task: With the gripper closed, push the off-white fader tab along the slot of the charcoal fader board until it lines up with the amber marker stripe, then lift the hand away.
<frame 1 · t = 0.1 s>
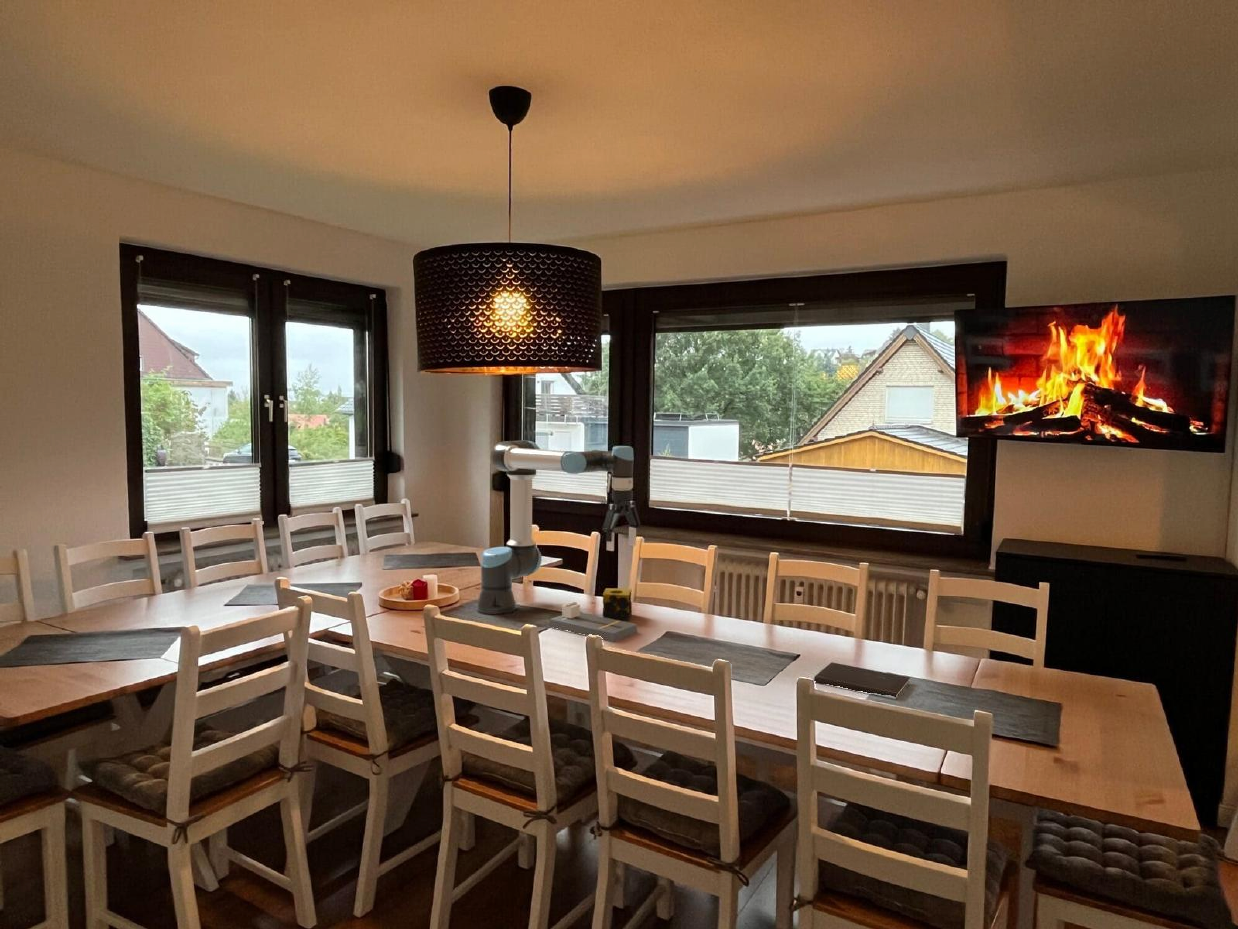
hand: (621, 547, 278), 28 cm above the table, tool pointing down, fingers open, 13 cm apart
candle: (617, 618, 289), on the table
fader tab: (571, 609, 277), point 6 cm above the table, slide at 0.0 cm
hardcover book: (861, 685, 223), on the table
fader board: (593, 630, 271), on the table
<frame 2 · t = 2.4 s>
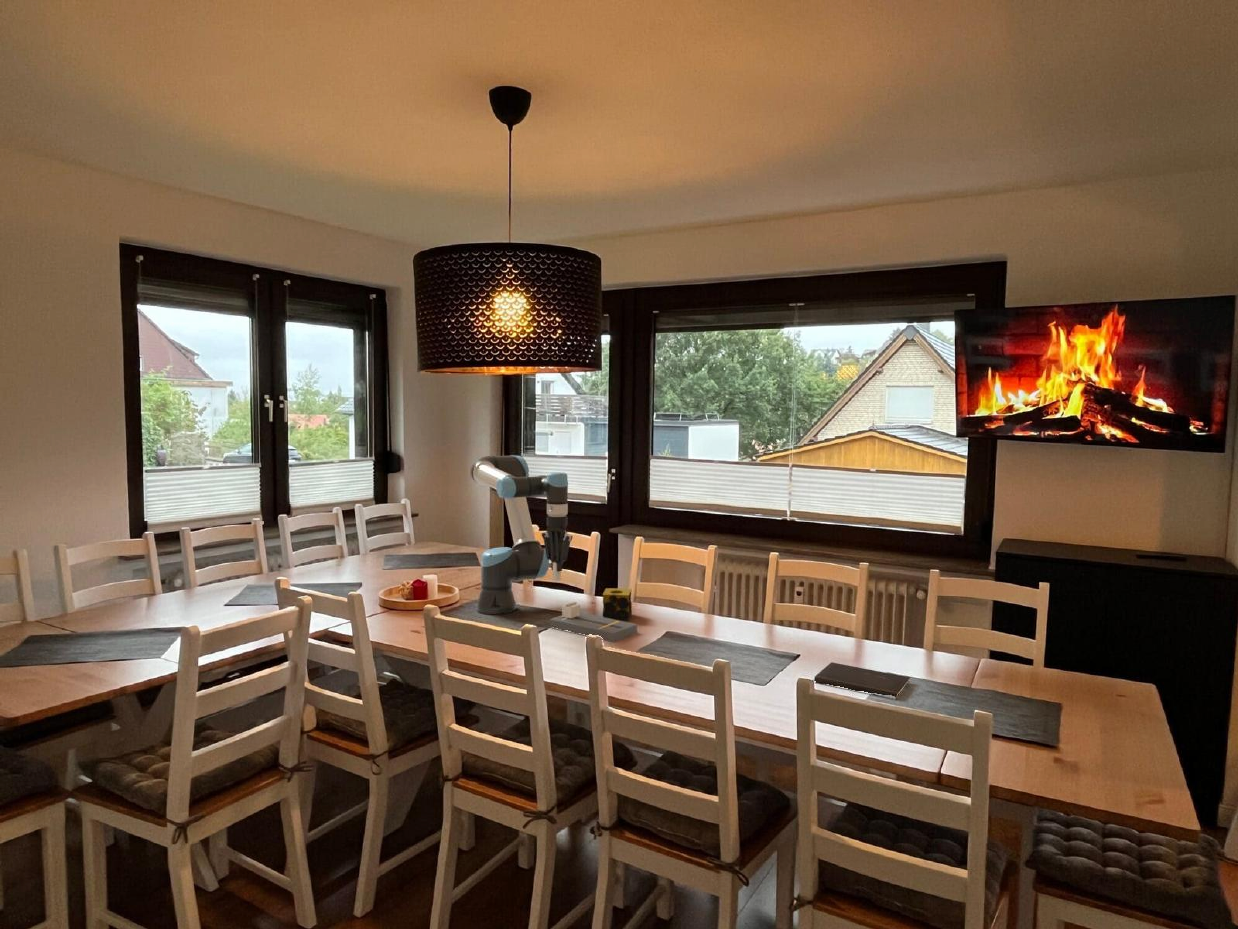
hand: (556, 579, 280), 16 cm above the table, tool pointing down, fingers closed
nothing on the table moved.
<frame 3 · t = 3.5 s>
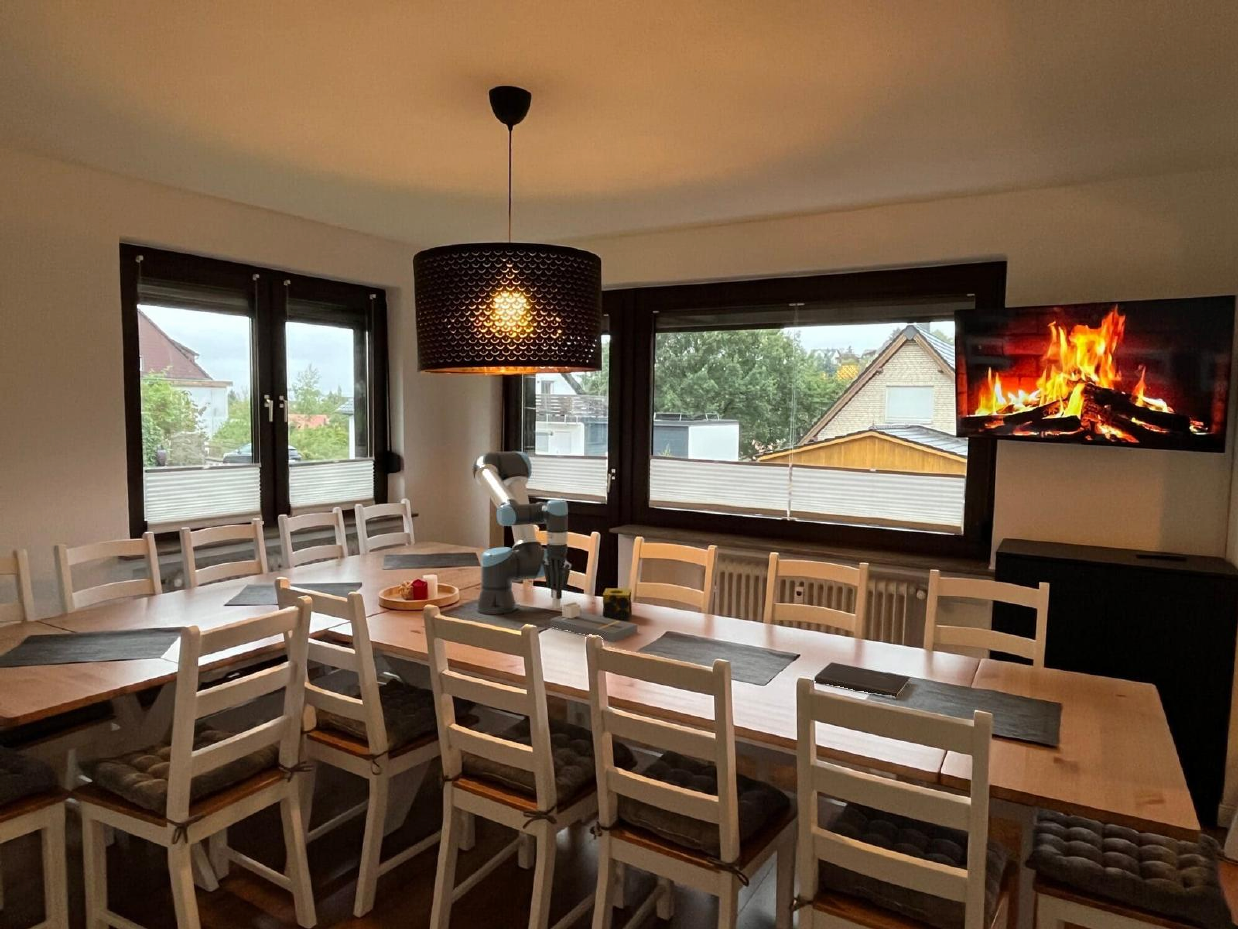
hand: (556, 607, 281), 5 cm above the table, tool pointing down, fingers closed
nothing on the table moved.
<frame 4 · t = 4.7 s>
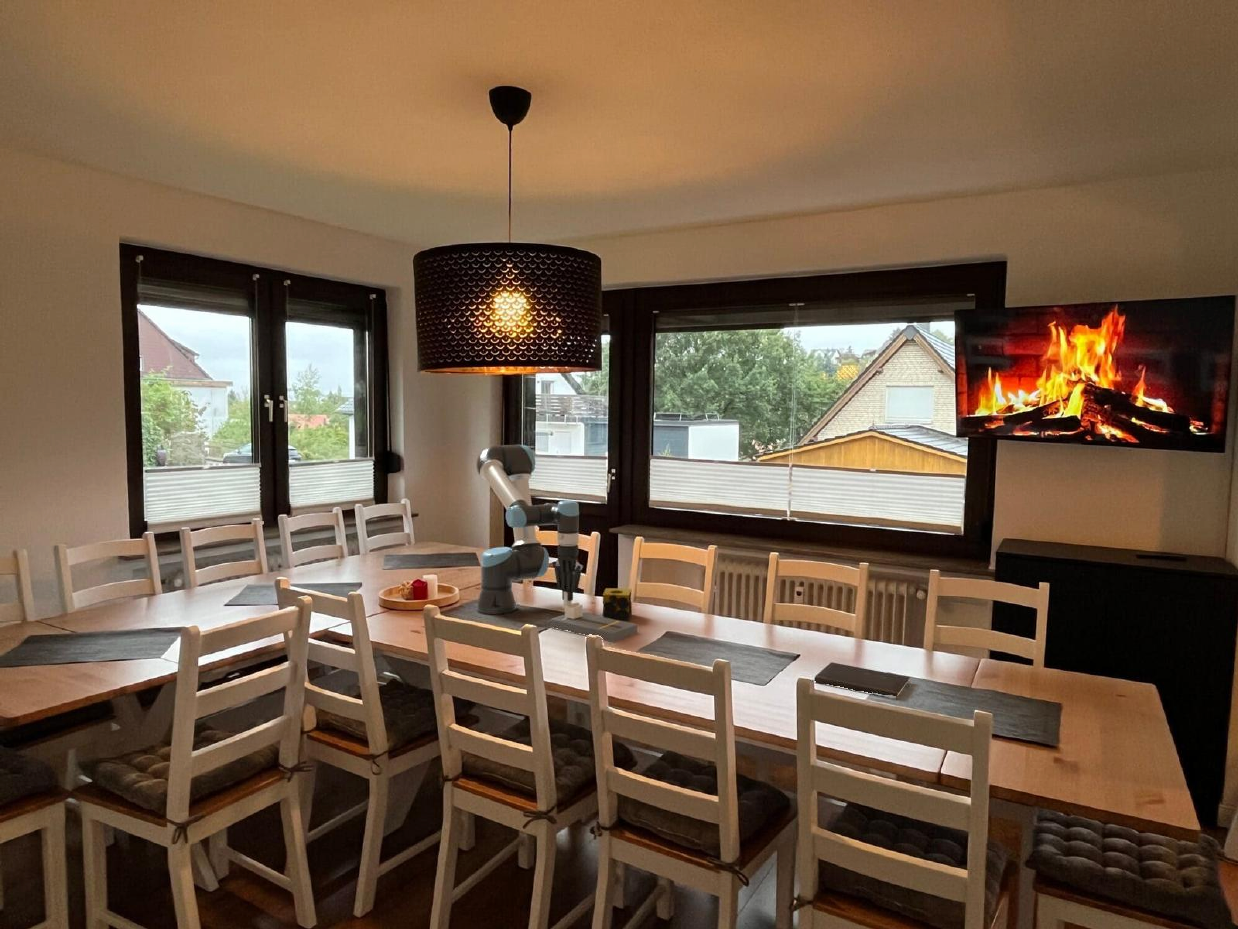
hand: (567, 609, 277), 6 cm above the table, tool pointing down, fingers closed
fader tab: (573, 610, 276), point 6 cm above the table, slide at 1.2 cm, touching gripper
everything else where it was.
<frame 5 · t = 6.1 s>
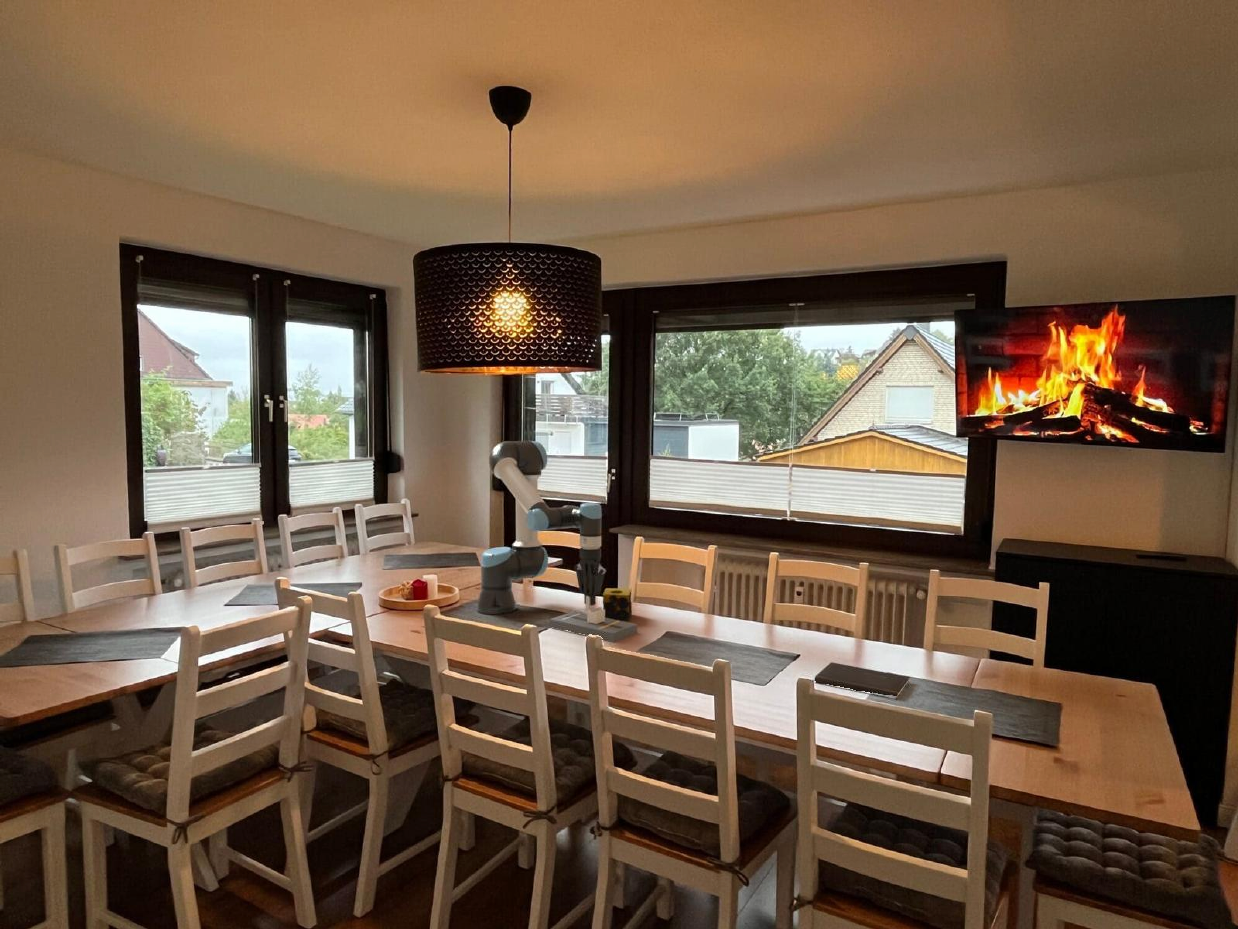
hand: (589, 613, 272), 6 cm above the table, tool pointing down, fingers closed
fader tab: (596, 615, 270), point 6 cm above the table, slide at 11.3 cm, touching gripper
everything else where it was.
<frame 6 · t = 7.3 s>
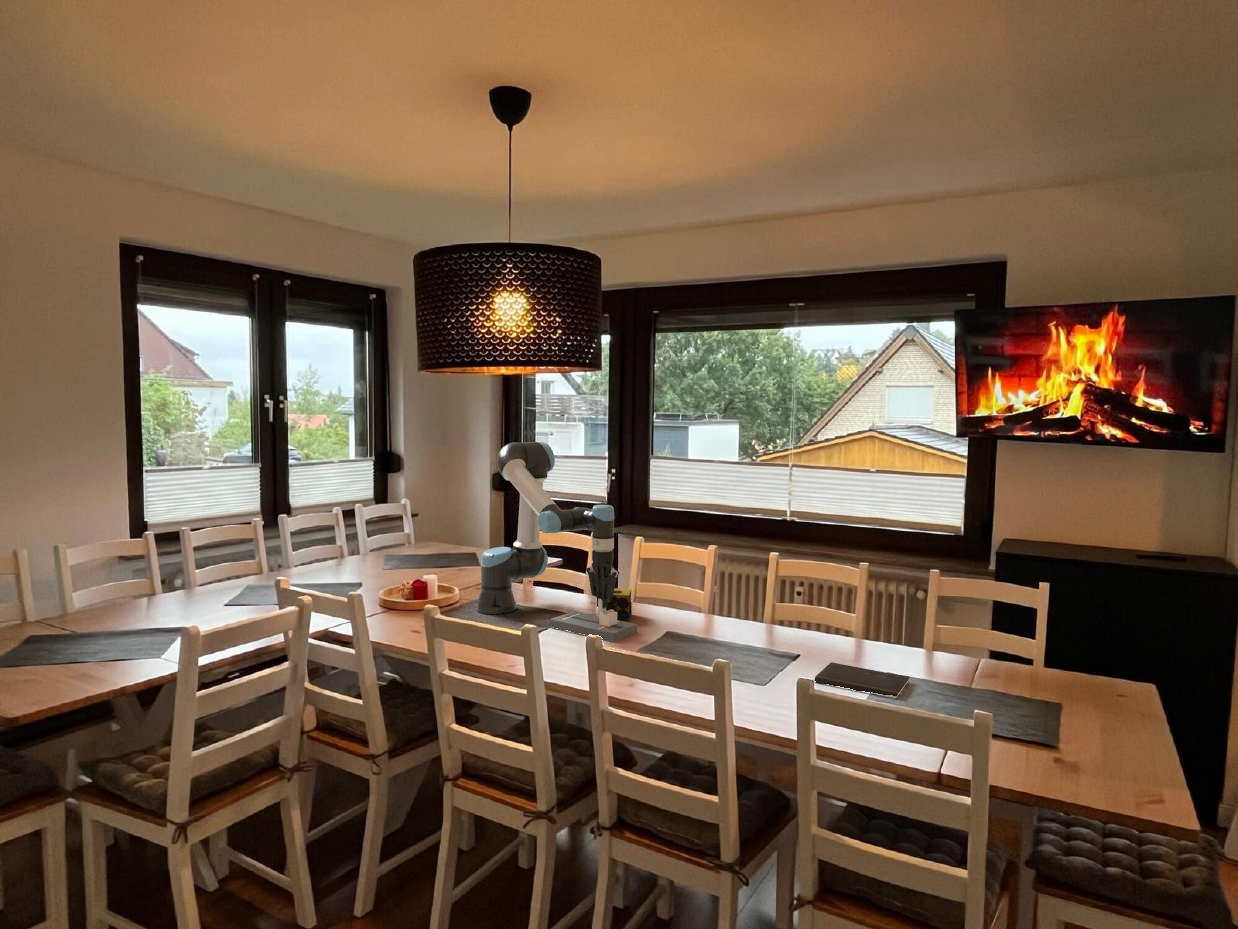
hand: (601, 616, 269), 5 cm above the table, tool pointing down, fingers closed
fader tab: (608, 617, 267), point 6 cm above the table, slide at 16.6 cm, touching gripper
everything else where it was.
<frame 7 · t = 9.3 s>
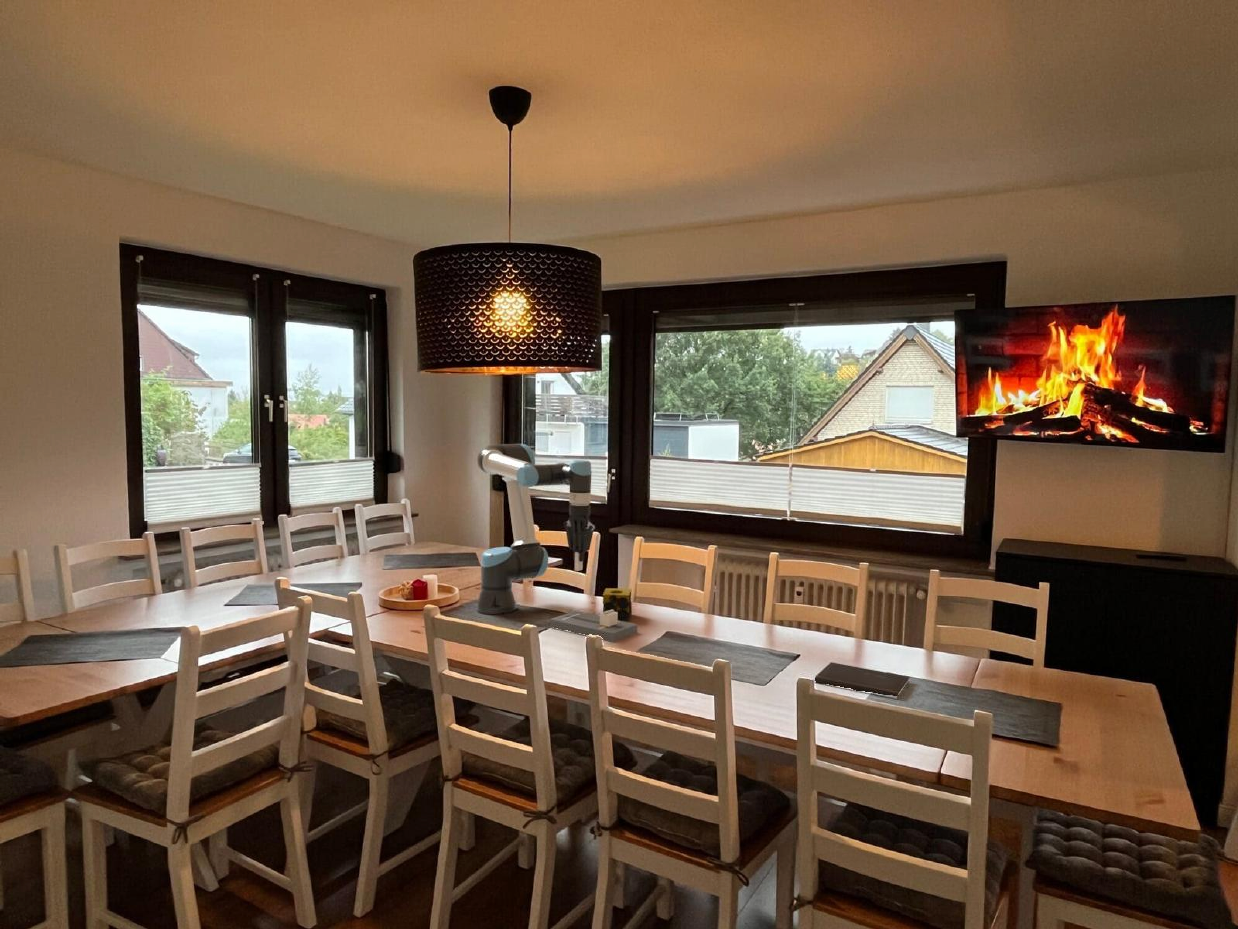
hand: (578, 569, 274), 21 cm above the table, tool pointing down, fingers closed
fader tab: (608, 617, 267), point 6 cm above the table, slide at 16.7 cm
everything else where it was.
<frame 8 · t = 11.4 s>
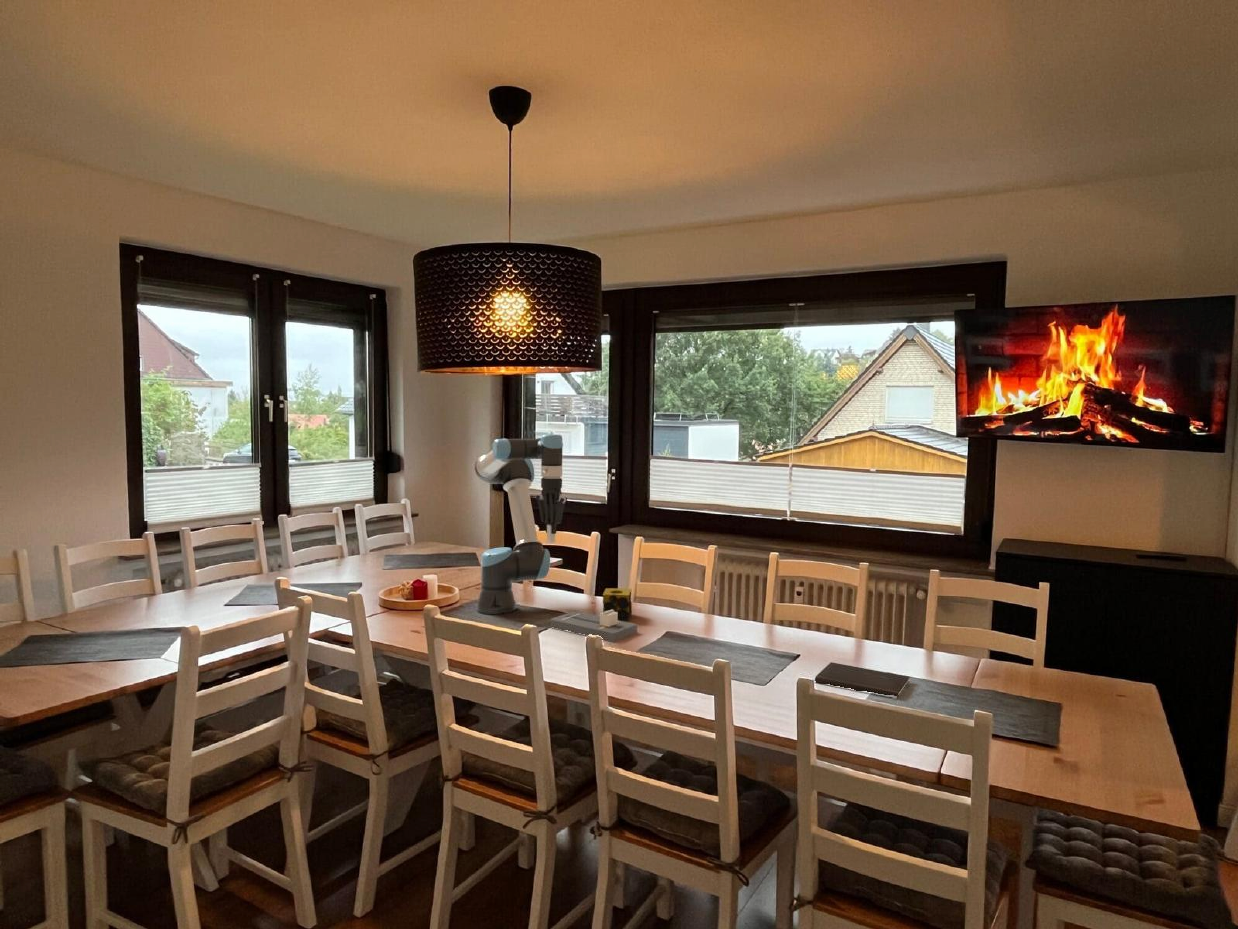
hand: (551, 542, 278), 29 cm above the table, tool pointing down, fingers closed
nothing on the table moved.
at the end: fader tab slide at 16.7 cm; candle moved 0.3 cm from its start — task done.
